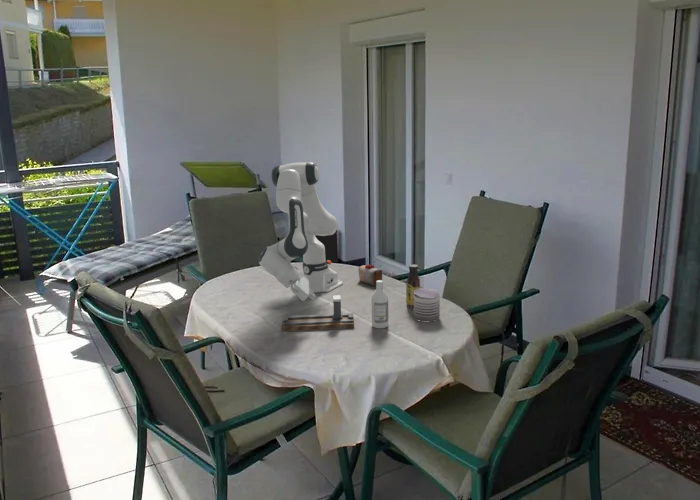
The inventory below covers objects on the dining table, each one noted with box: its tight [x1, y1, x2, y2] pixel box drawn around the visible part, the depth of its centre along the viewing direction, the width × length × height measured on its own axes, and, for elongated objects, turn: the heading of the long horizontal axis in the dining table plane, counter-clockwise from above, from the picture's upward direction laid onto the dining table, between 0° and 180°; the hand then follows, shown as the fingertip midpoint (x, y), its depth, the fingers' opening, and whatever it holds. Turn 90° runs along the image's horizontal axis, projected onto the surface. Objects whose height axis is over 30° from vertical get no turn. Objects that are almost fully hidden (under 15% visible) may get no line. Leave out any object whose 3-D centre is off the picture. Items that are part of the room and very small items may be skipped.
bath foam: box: [371, 279, 389, 329], centre depth 270 cm, size 7×7×20 cm
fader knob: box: [332, 294, 343, 320], centre depth 274 cm, size 4×5×10 cm
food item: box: [358, 263, 383, 287], centre depth 330 cm, size 14×8×10 cm, turn 38°
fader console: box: [282, 312, 355, 332], centre depth 275 cm, size 30×12×4 cm, turn 94°
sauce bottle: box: [405, 264, 421, 309], centre depth 292 cm, size 7×6×20 cm
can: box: [413, 287, 441, 322], centre depth 279 cm, size 11×11×12 cm
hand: (314, 297), depth 273 cm, fingers closed
